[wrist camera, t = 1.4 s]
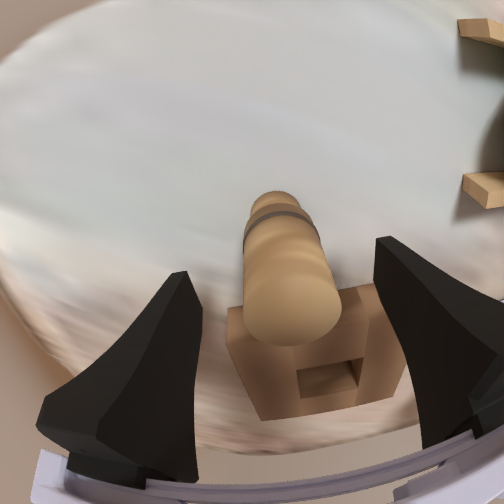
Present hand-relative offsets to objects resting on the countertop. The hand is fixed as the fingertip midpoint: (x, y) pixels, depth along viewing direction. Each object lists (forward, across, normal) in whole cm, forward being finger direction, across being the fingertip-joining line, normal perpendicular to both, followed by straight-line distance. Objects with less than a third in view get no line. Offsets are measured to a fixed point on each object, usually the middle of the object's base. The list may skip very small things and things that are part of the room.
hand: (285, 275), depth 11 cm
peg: (+5, 0, 0) cm, 5 cm away
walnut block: (+5, -2, +12) cm, 13 cm away
